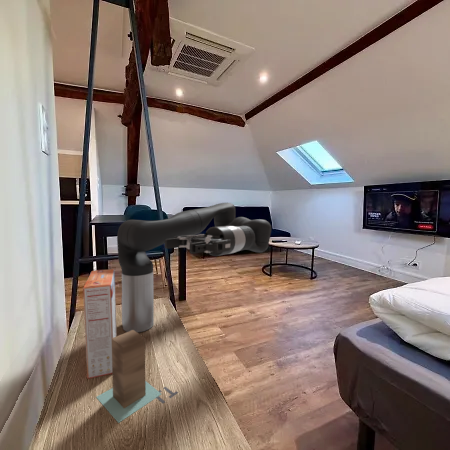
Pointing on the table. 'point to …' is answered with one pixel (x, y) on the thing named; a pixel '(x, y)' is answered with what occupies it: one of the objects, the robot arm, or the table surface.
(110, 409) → the felt mat
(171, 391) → the code marks
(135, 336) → the walnut block
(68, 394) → the table surface
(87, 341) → the cracker box
